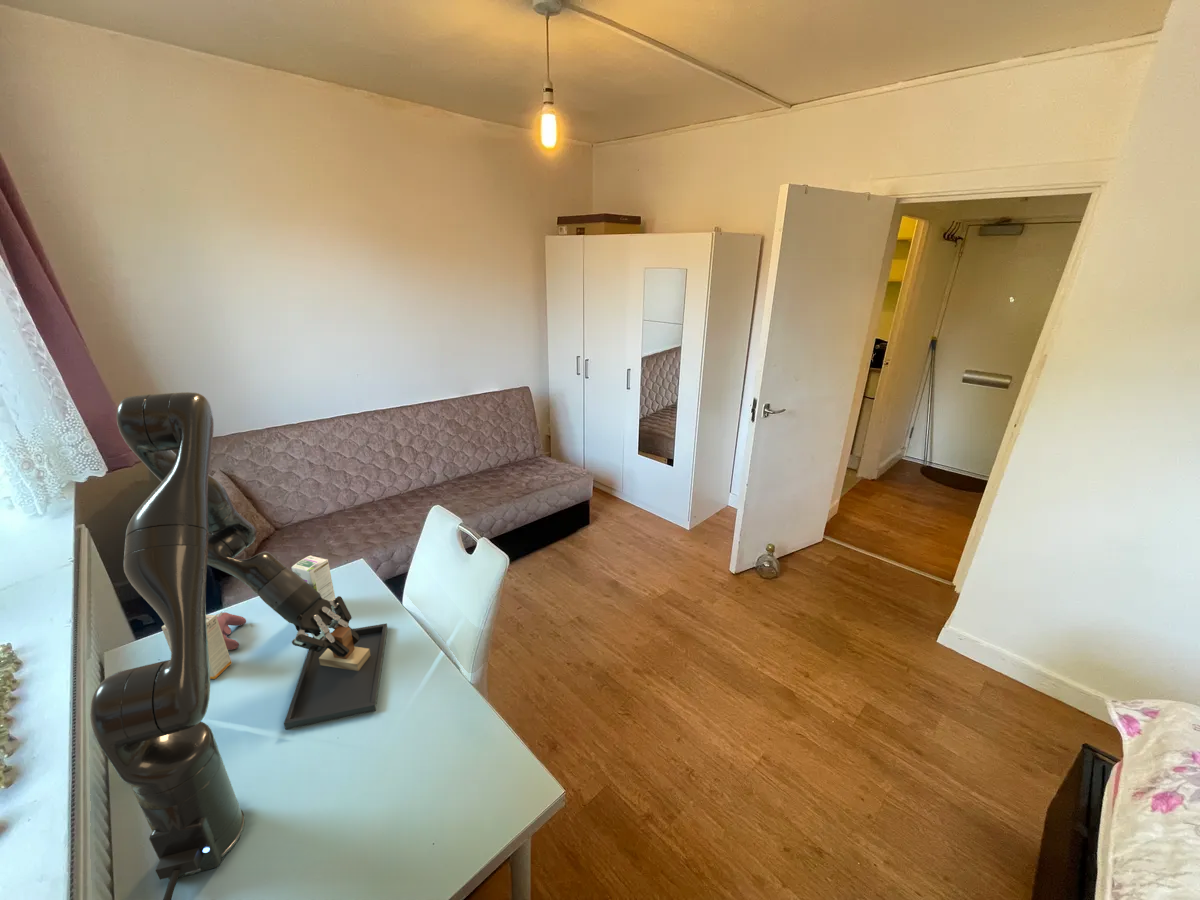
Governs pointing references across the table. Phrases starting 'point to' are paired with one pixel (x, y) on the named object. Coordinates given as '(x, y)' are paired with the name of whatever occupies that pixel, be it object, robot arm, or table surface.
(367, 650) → the stacked wooden blocks
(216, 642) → the supplement box
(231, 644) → the video game controller
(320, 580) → the syrup box
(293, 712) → the tray
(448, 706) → the table surface
